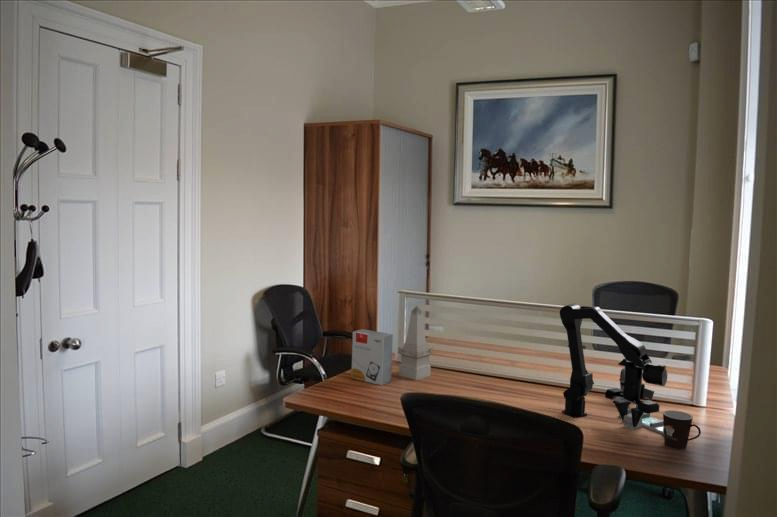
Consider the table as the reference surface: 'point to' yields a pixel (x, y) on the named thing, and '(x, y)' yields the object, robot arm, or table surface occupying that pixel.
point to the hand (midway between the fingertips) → (629, 424)
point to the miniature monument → (415, 349)
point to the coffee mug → (677, 429)
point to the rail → (651, 422)
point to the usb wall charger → (630, 422)
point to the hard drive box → (371, 356)
